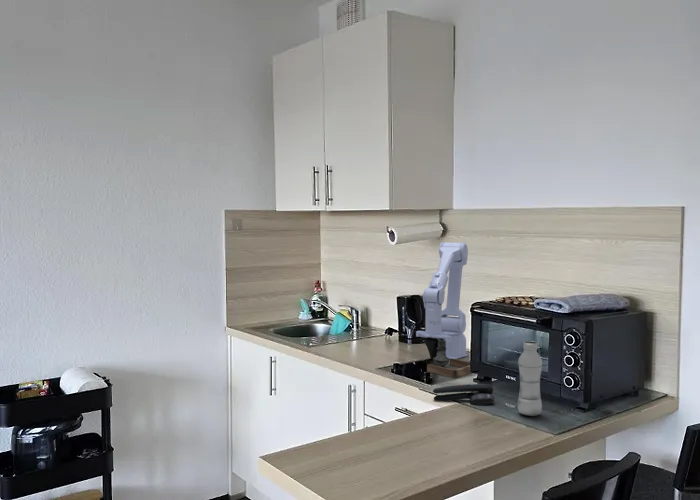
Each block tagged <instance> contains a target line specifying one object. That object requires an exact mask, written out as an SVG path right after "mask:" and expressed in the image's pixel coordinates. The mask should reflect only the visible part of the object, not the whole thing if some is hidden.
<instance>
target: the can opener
mask: <svg viewBox="0 0 700 500" xmlns="http://www.w3.org/2000/svg"><path fill="white" fill-rule="evenodd" d="M493 392H494V387H493V386H492V385H491V384H488V383H487V384H486V383H477V384H474V383H473V382H469V384H457V385H455V384H454V385H448V386H447V385H446V386H442V387H436V388H433V390H432V393H434V394H439V395H434V397H433V400H434V401H437V402H449V401H450V402H451V401H457V400H458V401H459V400H469V401H470V403H471V404H472V405H476V406H486V405H490V404H493V402H495V396H494V395H493Z"/></svg>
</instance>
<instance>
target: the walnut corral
mask: <svg viewBox="0 0 700 500" xmlns="http://www.w3.org/2000/svg"><path fill="white" fill-rule="evenodd" d="M470 362H471V361H468V360H463V359H462V360H461V359H459V358H457V359H453V358H450V360H449V366H450V367H455V368H456V369H453V368H449V367H447V368H444V367H440V366H437V365H436V364H429V363H428V364H427V365H426V366H427V367H426V372H427V373H430V374H435V375H439V376H440V375H441V376H444V377H447V378H453V379H457V378H460V377H463V376H466V375H470V374H472V373H471V372H470Z"/></svg>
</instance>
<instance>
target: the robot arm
mask: <svg viewBox="0 0 700 500" xmlns="http://www.w3.org/2000/svg"><path fill="white" fill-rule="evenodd" d="M468 254H469V249H468V245H467V243H466V242H465V241H464V242H448V241H447V242H446V241H442V242H441V243H440V244H439V247H438V255H439V260H440V261H439V264H438V267H437V268H438V269H437V271H435V272H434V273H433V274H432V277H431V280H430V282H429V284H428V287H427V288H426V289H424V290H423V292H422V300H423V307H424V309H425V330H417V331H415V337H421V338H426V339H424V340H423V341H424V344H425V346H426V348H427V350H428V353H429V358H430V360H433V361H434V359H433V358H434V357H436V356H437V347H438V339H439V338H443V339H444V340H445V341H446V348H447V349H446V357H447V358H449V359H450V358H453V359H460V358H464V357H468V356H469V353H468V354H467V338H466V336H465V334H464V333H465V331H466V329H467V322H466V320H467V319H466V313H464V311H462V309H460V298H461V286H462V275H463V268H464V266H467V262H468ZM446 287H447V295H446V304H445V305H446V306H445V308H444V309H443V308H442V305H443V304H444V301H445V294H446Z"/></svg>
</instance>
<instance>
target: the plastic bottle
mask: <svg viewBox="0 0 700 500" xmlns="http://www.w3.org/2000/svg"><path fill="white" fill-rule="evenodd" d="M522 348H523V352H521V354H520V355H519V358H518V361H517V362H518V371H519V372H518V373H519V394H518V398H517V409H518V412H519V413H520V414H521V415H524V416H529V417H536V416H538V415H540V414H541V412H542V409H543V404H542V402H543V401H542V398H541V375H542V369H543V360H542V357H541V355H540V354H539V353H538V351H537V350H538V349H539V347H538V342H537V341H535V340H525V341H523V347H522Z"/></svg>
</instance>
